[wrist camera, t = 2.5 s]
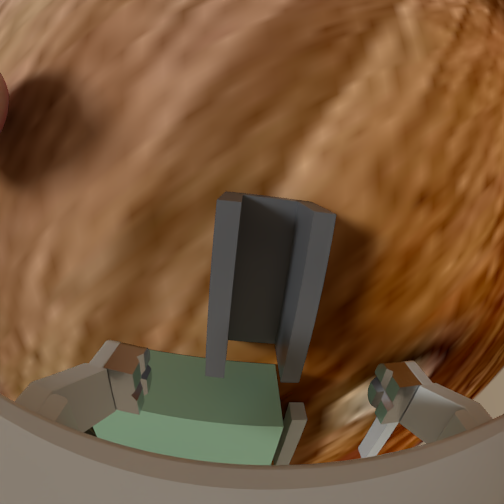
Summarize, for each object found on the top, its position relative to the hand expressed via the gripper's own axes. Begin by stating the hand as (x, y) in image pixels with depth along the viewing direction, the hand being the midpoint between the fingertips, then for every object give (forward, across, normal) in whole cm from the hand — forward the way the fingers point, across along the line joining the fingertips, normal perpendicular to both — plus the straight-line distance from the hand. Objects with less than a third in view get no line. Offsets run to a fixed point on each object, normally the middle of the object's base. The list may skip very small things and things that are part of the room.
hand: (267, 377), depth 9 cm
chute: (+9, 0, -1) cm, 9 cm away
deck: (+9, -2, +14) cm, 17 cm away
